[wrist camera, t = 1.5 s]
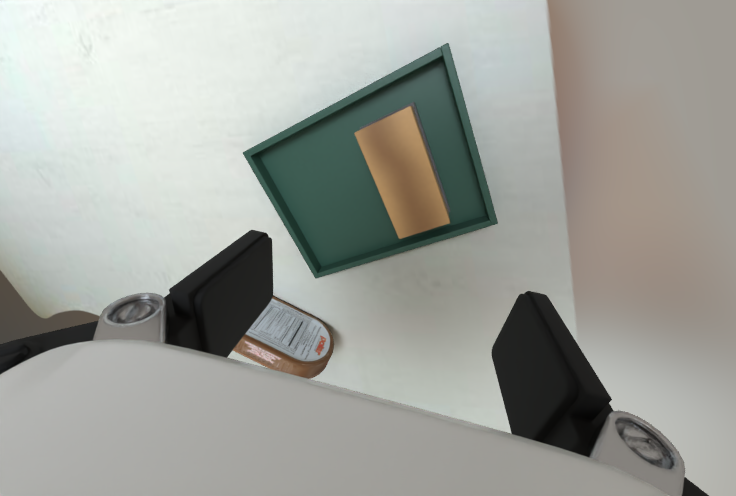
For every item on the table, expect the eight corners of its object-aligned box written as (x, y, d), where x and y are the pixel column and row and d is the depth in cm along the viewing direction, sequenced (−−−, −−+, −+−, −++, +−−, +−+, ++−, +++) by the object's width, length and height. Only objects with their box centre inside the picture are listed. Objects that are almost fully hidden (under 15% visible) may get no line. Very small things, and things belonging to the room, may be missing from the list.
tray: (446, 47, 22) (448, 42, 21) (493, 215, 28) (498, 223, 26) (253, 149, 29) (242, 152, 27) (321, 269, 35) (315, 278, 33)
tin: (238, 292, 39) (194, 337, 32) (243, 276, 38) (198, 319, 30) (335, 340, 40) (314, 394, 33) (344, 326, 38) (324, 380, 31)
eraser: (414, 101, 24) (412, 101, 20) (449, 206, 28) (453, 224, 24) (362, 126, 26) (350, 131, 22) (401, 222, 29) (397, 242, 25)
